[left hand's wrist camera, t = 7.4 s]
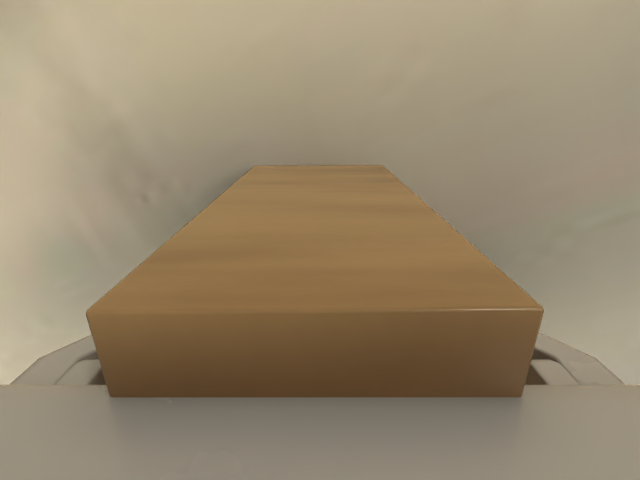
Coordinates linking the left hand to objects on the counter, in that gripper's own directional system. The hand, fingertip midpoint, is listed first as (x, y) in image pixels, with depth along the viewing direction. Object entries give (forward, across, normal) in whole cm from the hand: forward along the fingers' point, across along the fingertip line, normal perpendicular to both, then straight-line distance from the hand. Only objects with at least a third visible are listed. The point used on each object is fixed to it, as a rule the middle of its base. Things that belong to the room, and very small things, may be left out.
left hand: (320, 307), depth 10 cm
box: (+7, 0, -10) cm, 12 cm away
